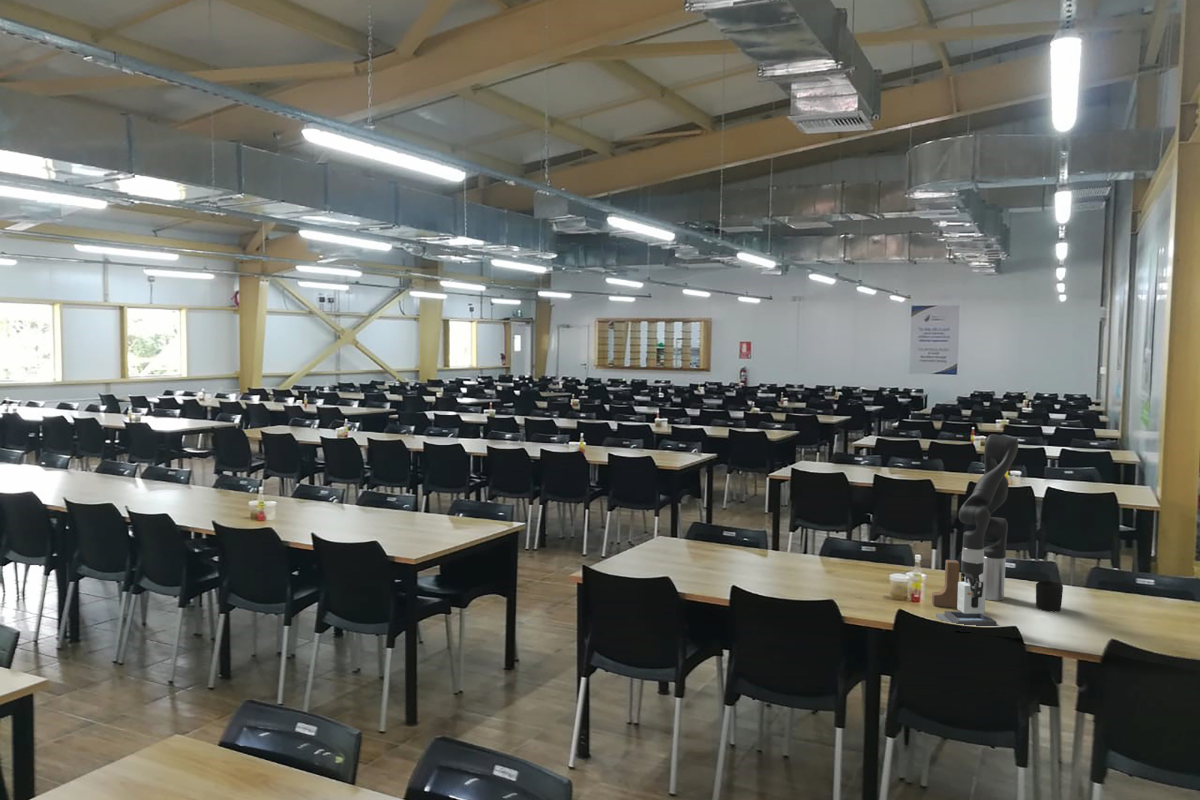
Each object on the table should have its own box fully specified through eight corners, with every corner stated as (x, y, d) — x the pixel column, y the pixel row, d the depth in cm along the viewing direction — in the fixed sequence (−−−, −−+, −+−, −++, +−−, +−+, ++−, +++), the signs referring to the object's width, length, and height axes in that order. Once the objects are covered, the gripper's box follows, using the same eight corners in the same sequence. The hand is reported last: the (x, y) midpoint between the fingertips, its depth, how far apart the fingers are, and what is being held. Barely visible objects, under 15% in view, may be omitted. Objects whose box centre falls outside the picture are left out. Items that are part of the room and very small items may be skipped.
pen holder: (1067, 612, 329) (1068, 586, 329) (1045, 612, 328) (1046, 587, 327) (1051, 604, 339) (1052, 580, 338) (1029, 605, 337) (1030, 580, 337)
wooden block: (933, 606, 334) (935, 561, 333) (931, 603, 339) (933, 558, 337) (958, 608, 332) (959, 562, 331) (955, 604, 337) (957, 560, 336)
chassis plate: (935, 616, 321) (936, 608, 321) (983, 616, 321) (983, 609, 321) (955, 631, 303) (955, 623, 303) (1005, 632, 303) (1006, 624, 303)
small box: (977, 609, 315) (978, 581, 314) (985, 613, 309) (986, 585, 309) (956, 609, 315) (957, 581, 314) (963, 613, 309) (964, 585, 309)
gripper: (954, 554, 318) (952, 599, 319) (970, 564, 304) (969, 610, 305) (974, 555, 318) (972, 599, 319) (991, 564, 304) (989, 611, 305)
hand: (970, 604), depth 312 cm, fingers closed on small box, 5 cm apart
